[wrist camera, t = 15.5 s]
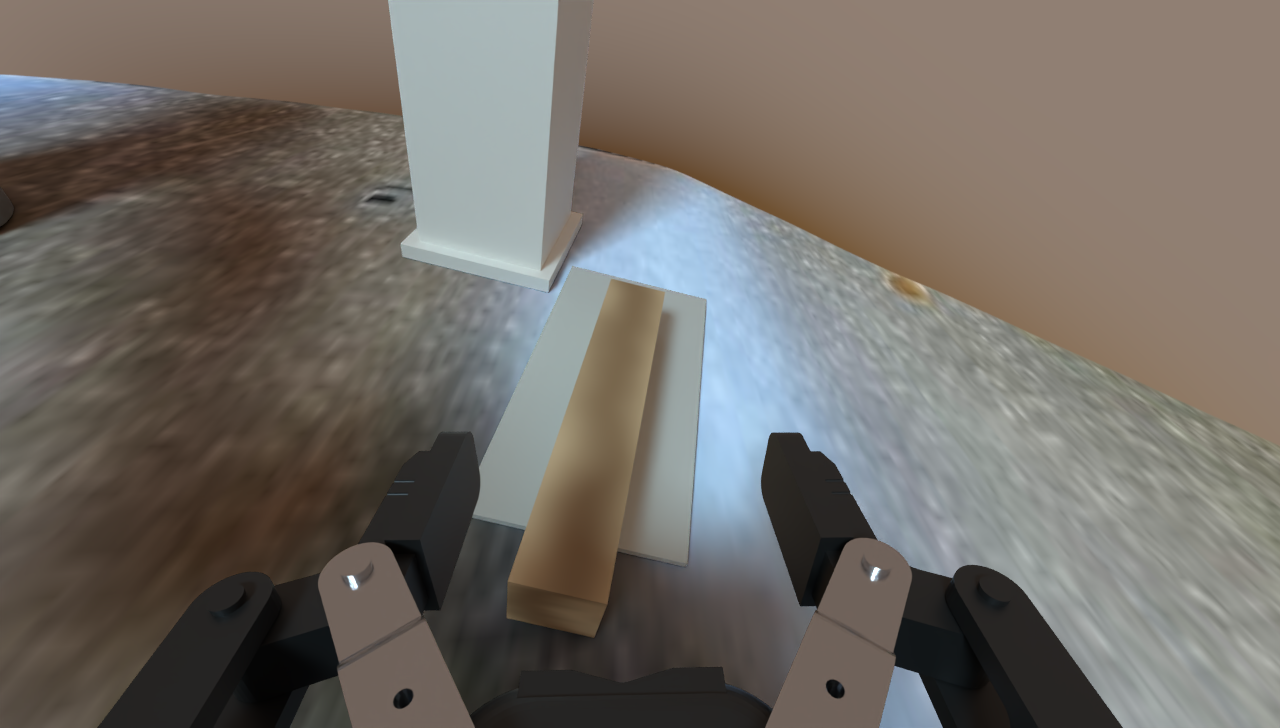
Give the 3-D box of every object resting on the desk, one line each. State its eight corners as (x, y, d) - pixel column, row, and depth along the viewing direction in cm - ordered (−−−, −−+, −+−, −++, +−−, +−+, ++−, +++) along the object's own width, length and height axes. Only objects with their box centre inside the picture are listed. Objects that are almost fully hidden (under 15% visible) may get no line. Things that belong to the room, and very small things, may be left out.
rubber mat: (459, 514, 25) (458, 510, 25) (571, 269, 43) (572, 266, 43) (685, 567, 26) (687, 563, 25) (705, 302, 43) (706, 299, 43)
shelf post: (402, 256, 40) (283, -500, 18) (462, 195, 48) (432, -361, 27) (548, 292, 40) (605, -406, 18) (581, 225, 49) (647, -300, 27)
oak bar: (506, 617, 22) (507, 581, 19) (603, 321, 38) (611, 278, 35) (594, 637, 22) (607, 604, 19) (653, 333, 38) (665, 292, 35)
